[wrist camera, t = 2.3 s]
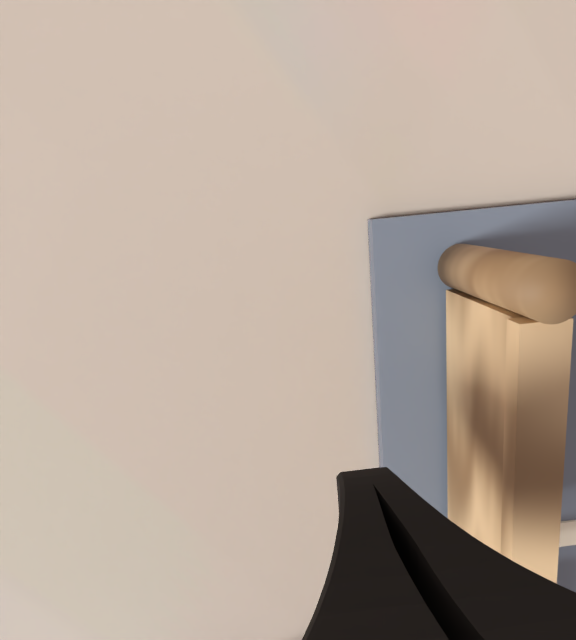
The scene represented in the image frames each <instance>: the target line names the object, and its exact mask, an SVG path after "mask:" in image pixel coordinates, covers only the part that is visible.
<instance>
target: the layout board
mask: <svg viewBox="0 0 576 640" xmlns="http://www.w3.org/2000/svg"><path fill="white" fill-rule="evenodd" d="M368 235H369V255H370V276H371V297H372V317H373V338H374V359H375V380H376V400H377V421H378V442H379V462H380V467H387V468H389V469H390V470H391V471H392V472H393V473H394V474H396V475H397V476H398V477H399V478H400V479H401V480H402V481H403V482H405V483H406V484H407V485H408V486H409V487H410V488H411V489H412V490H414V491H415V492H416V493H417V494H418V495H419V496H421V497H422V498H423V499H424V500H425V501H426V502H428V503H429V504H430V505H431V506H433V507H434V508H435V509H436V510H438V511H439V512H440V513H441V514H443V515H444V516H445V517H447V518H448V497H447V362H446V290H448V289H454V288H451V287H449V286H447V285H445V284H444V283H443V282H442V281H441V279H440V277H439V275H438V262H439V259H440V257H441V255H442V254H443V252H444V251H445V250H446V249H448V248H449V247H451V246H453V245H455V244H470V245H476V246H483V247H489V248H496V249H502V250H508V251H515V252H521V253H528V254H534V255H541V256H547V257H553V258H560V259H566V260H570V261H573V262H575V263H576V199H572V200H562V201H552V202H542V203H531V204H521V205H511V206H500V207H490V208H480V209H470V210H459V211H449V212H439V213H429V214H418V215H408V216H398V217H387V218H377V219H368ZM571 318H573V334H572V350H571V365H570V381H569V397H568V413H567V429H566V444H565V460H564V476H563V492H562V508H561V523H560V539H559V555H558V571H557V584H558V585H560V586H563V587H565V588H567V589H569V590H571V591H573V592H576V314H575V315H574V316H573V317H571Z"/></svg>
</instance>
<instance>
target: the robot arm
mask: <svg viewBox="0 0 576 640" xmlns="http://www.w3.org/2000/svg"><path fill="white" fill-rule="evenodd" d="M337 490H338V503H339V523H338V530H337V535H336V541H335V546H334V551H333V556H332V560H331V564H330V567H329V571H328V574H327V578H326V581H325V584H324V587H323V590H322V593H321V596H320V599H319V601H318V604H317V607H316V609H315V612H314V614H313V617H312V619H311V621H310V624H309V626H308V628H307V630H306V632H305V635H304V637H303V639H302V640H576V592H573V591H571V590H569V589H567V588H565V587H563V586H560V585H558V584H556V583H554V582H552V581H550V580H548V579H546V578H544V577H542V576H540V575H538V574H536V573H534V572H532V571H530V570H529V569H527V568H525V567H523V566H521V565H519V564H517V563H516V562H514V561H512V560H510V559H508V558H507V557H505V556H504V555H502V554H500V553H499V552H497V551H495V550H494V549H492V548H490V547H489V546H487V545H485V544H484V543H482V542H481V541H479V540H478V539H476V538H475V537H473V536H472V535H470V534H469V533H467V532H466V531H464V530H463V529H462V528H460V527H459V526H457V525H456V524H455V523H453V522H452V521H450V520H449V519H448V518H447V517H445V516H444V515H443V514H441V513H440V512H439V511H438V510H436V509H435V508H434V507H433V506H431V505H430V504H429V503H428V502H426V501H425V500H424V499H423V498H422V497H421V496H419V495H418V494H417V493H416V492H415V491H414V490H412V489H411V488H410V487H409V486H408V485H407V484H406V483H405V482H403V481H402V480H401V479H400V478H399V477H398V476H397V475H396V474H394V473H393V472H392V471H391V470H390V469H389V468H387V467H380V468H372V469H364V470H355V471H347V472H340V473H339V475H338V476H337Z"/></svg>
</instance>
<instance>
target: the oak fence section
mask: <svg viewBox="0 0 576 640" xmlns="http://www.w3.org/2000/svg"><path fill="white" fill-rule="evenodd" d="M438 275H439V277H440V279H441V281H442V282H443V283H444V284H445V285H447V286H449V287H451V288H454V289H448V290H446V362H447V497H448V519H449V520H450V521H452V522H453V523H455V524H456V525H457V526H459V527H460V528H462V529H463V530H464V531H466V532H467V533H469V534H470V535H472V536H473V537H475V538H476V539H478V540H479V541H481V542H482V543H484V544H485V545H487V546H489V547H490V548H492V549H494V550H495V551H497V552H499V553H500V554H502V555H504V556H505V557H507V558H508V559H510V560H512V561H514V562H516V563H517V564H519V565H521V566H523V567H525V568H527V569H529V570H530V571H532V572H534V573H536V574H538V575H540V576H542V577H544V578H546V579H548V580H550V581H552V582H554V583H556V584H557V571H558V555H559V539H560V523H561V508H562V492H563V476H564V460H565V444H566V429H567V413H568V397H569V381H570V365H571V350H572V334H573V318H571V317H573V316H574V315H575V314H576V263H575V262H573V261H570V260H566V259H560V258H553V257H547V256H541V255H534V254H528V253H521V252H515V251H508V250H502V249H496V248H489V247H483V246H476V245H470V244H455V245H453V246H451V247H449V248H448V249H446V250H445V251H444V252H443V254H442V255H441V257H440V259H439V262H438Z"/></svg>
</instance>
